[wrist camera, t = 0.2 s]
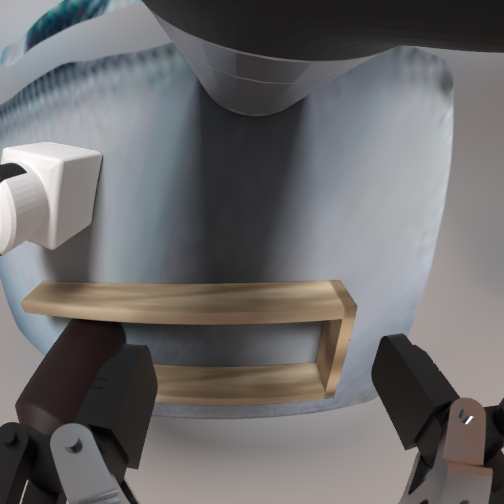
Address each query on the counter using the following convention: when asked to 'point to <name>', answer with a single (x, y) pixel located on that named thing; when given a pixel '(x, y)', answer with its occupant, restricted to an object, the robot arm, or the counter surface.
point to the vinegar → (67, 374)
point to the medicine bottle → (46, 193)
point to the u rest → (217, 313)
